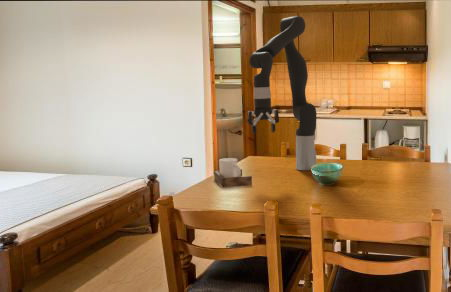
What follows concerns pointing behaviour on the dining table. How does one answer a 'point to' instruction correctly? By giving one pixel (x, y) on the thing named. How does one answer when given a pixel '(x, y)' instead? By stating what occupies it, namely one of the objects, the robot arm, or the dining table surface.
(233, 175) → the mug
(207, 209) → the dining table surface
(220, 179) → the tray
